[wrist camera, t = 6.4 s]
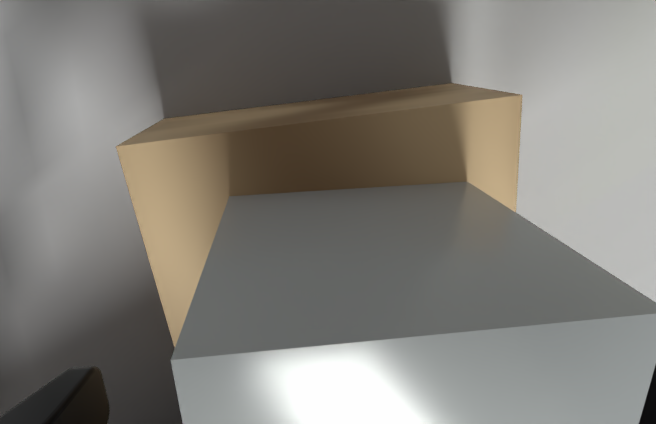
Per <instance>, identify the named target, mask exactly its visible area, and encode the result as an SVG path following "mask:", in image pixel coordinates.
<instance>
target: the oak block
mask: <svg viewBox="0 0 656 424" xmlns="http://www.w3.org/2000/svg"><path fill="white" fill-rule="evenodd" d="M521 110H522V95H520V94H514V93H508V92H502V91H496V90H490V89H484V88H478V87H472V86H466V85H460V84H454V83H449V84H441V85H433V86H425V87H416V88H408V89H400V90H392V91H384V92H376V93H368V94H360V95H352V96H344V97H335V98H327V99H319V100H311V101H303V102H295V103H287V104H279V105H271V106H263V107H254V108H246V109H238V110H230V111H222V112H214V113H206V114H198V115H190V116H182V117H173V118H165V119H163V120H161V121H159V122H158V123H156V124H154V125H152V126H151V127H149V128H147V129H145V130H144V131H142V132H140V133H138V134H137V135H135V136H133V137H131V138H130V139H128V140H126V141H124V142H123V143H121V144H119V145H118V146H116V149H117V152H118V155H119V159H120V162H121V166H122V169H123V173H124V176H125V179H126V183H127V186H128V190H129V193H130V197H131V200H132V204H133V207H134V210H135V214H136V217H137V221H138V224H139V228H140V231H141V234H142V238H143V241H144V245H145V248H146V252H147V255H148V259H149V262H150V265H151V269H152V272H153V276H154V279H155V283H156V286H157V289H158V293H159V296H160V300H161V303H162V307H163V310H164V313H165V317H166V320H167V324H168V327H169V331H170V334H171V338H172V341H173V344H174V348H175V346H176V343H177V341H178V338H179V335H180V332H181V329H182V327H183V324H184V321H185V318H186V316H187V313H188V310H189V307H190V304H191V302H192V299H193V296H194V293H195V290H196V288H197V285H198V282H199V279H200V276H201V274H202V271H203V268H204V265H205V263H206V260H207V257H208V254H209V251H210V249H211V246H212V243H213V240H214V237H215V235H216V232H217V229H218V226H219V223H220V221H221V218H222V215H223V212H224V210H225V207H226V204H227V201H228V198H229V196H242V195H258V194H274V193H290V192H306V191H322V190H339V189H355V188H371V187H387V186H403V185H419V184H436V183H452V182H469V183H471V184H472V185H474V186H475V187H477V188H478V189H480V190H482V191H483V192H485V193H486V194H488V195H489V196H491V197H492V198H494V199H495V200H497V201H499V202H500V203H502V204H503V205H505V206H506V207H508V208H509V209H511V210H513V211H514V212H516V200H517V182H518V164H519V146H520V128H521Z"/></svg>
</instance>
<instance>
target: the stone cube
mask: <svg viewBox="0 0 656 424" xmlns="http://www.w3.org/2000/svg"><path fill="white" fill-rule="evenodd" d="M171 365H172V370H173V376H174V381H175V386H176V391H177V397H178V402H179V407H180V412H181V417H182V423H183V424H639V421H640V418H641V414H642V411H643V407H644V404H645V400H646V397H647V393H648V390H649V386H650V383H651V379H652V375H653V372H654V368H655V365H656V302H654V301H652V300H651V299H649V298H648V297H646V296H645V295H643V294H642V293H640V292H638V291H637V290H635V289H634V288H632V287H631V286H629V285H628V284H626V283H624V282H623V281H621V280H620V279H618V278H617V277H615V276H614V275H612V274H610V273H609V272H607V271H606V270H604V269H603V268H601V267H600V266H598V265H596V264H595V263H593V262H592V261H590V260H589V259H587V258H586V257H584V256H582V255H581V254H579V253H578V252H576V251H575V250H573V249H572V248H570V247H569V246H567V245H565V244H564V243H562V242H561V241H559V240H558V239H556V238H555V237H553V236H551V235H550V234H548V233H547V232H545V231H544V230H542V229H541V228H539V227H537V226H536V225H534V224H533V223H531V222H530V221H528V220H527V219H525V218H523V217H522V216H520V215H519V214H517V213H516V212H514V211H513V210H511V209H509V208H508V207H506V206H505V205H503V204H502V203H500V202H499V201H497V200H495V199H494V198H492V197H491V196H489V195H488V194H486V193H485V192H483V191H482V190H480V189H478V188H477V187H475V186H474V185H472V184H471V183H469V182H452V183H436V184H419V185H403V186H387V187H371V188H355V189H339V190H322V191H306V192H290V193H274V194H258V195H242V196H229V198H228V201H227V204H226V207H225V210H224V212H223V215H222V218H221V221H220V223H219V226H218V229H217V232H216V235H215V237H214V240H213V243H212V246H211V249H210V251H209V254H208V257H207V260H206V263H205V265H204V268H203V271H202V274H201V276H200V279H199V282H198V285H197V288H196V290H195V293H194V296H193V299H192V302H191V304H190V307H189V310H188V313H187V316H186V318H185V321H184V324H183V327H182V329H181V332H180V335H179V338H178V341H177V343H176V346H175V349H174V352H173V355H172V357H171Z"/></svg>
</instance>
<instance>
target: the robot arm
mask: <svg viewBox="0 0 656 424" xmlns="http://www.w3.org/2000/svg"><path fill="white" fill-rule="evenodd" d="M108 419H109V402H108V398H107V394H106V390H105V385H104V381H103V377H102V374H101V371H100V369H99V368H97V367H95V366H88V367H75V368H71V369H69V370H67V371H65V372H64V373H63V374H61V375H60V376H58V377H57V378H55V379H54V380H53V381H51V382H50V383H48V384H47V385H45V386H44V387H42V388H41V389H40V390H38V391H37V392H35V393H34V394H32V395H31V396H30V397H28V398H27V399H25V400H24V401H22V402H21V403H20V404H18V405H17V406H15V407H14V408H12V409H11V410H10V411H8V412H7V413H5V414H4V415H2V416H1V417H0V424H107V423H108ZM639 424H656V365H655V368H654V372H653V375H652V379H651V383H650V386H649V390H648V393H647V397H646V400H645V404H644V407H643V411H642V414H641V418H640V421H639Z"/></svg>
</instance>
